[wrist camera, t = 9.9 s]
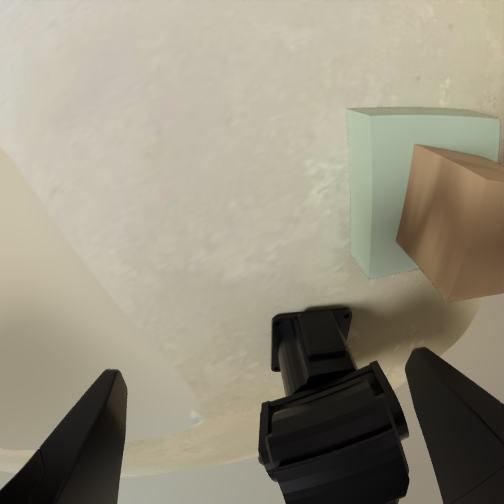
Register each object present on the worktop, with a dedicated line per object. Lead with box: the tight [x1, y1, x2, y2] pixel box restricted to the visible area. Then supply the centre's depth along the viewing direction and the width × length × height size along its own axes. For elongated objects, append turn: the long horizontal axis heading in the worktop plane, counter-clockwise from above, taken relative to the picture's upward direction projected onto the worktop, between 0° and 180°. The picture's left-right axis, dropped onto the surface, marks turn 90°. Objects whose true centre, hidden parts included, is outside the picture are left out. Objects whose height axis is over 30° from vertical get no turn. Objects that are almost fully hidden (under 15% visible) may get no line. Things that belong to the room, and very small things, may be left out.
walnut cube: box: [396, 144, 504, 302], centre depth 14 cm, size 6×6×6 cm
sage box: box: [345, 107, 500, 279], centre depth 19 cm, size 10×10×4 cm
